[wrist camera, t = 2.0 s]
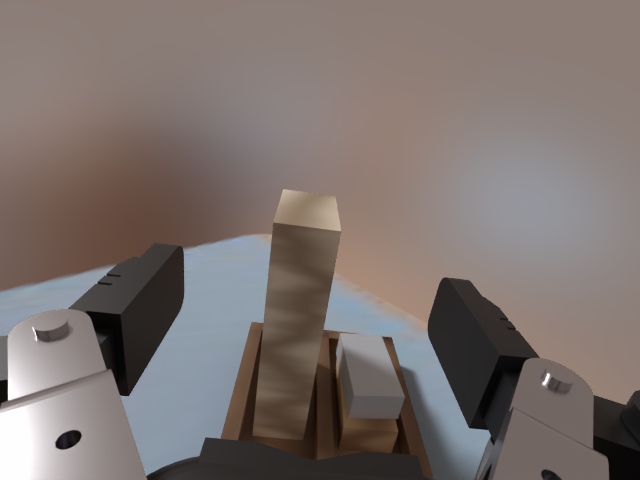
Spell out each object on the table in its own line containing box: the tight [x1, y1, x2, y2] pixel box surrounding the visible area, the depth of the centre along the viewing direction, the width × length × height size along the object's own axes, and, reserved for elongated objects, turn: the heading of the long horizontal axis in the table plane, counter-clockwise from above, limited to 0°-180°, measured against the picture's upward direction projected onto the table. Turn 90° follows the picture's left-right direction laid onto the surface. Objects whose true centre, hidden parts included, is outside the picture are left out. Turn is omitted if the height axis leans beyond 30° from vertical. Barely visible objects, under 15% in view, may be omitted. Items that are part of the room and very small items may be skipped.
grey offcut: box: [336, 333, 405, 419], centre depth 31 cm, size 4×7×2 cm, turn 6°
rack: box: [221, 322, 433, 479], centre depth 31 cm, size 15×16×3 cm
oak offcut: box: [334, 361, 398, 453], centre depth 31 cm, size 4×8×2 cm, turn 1°
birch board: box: [252, 190, 341, 440], centre depth 28 cm, size 4×7×18 cm, turn 1°
